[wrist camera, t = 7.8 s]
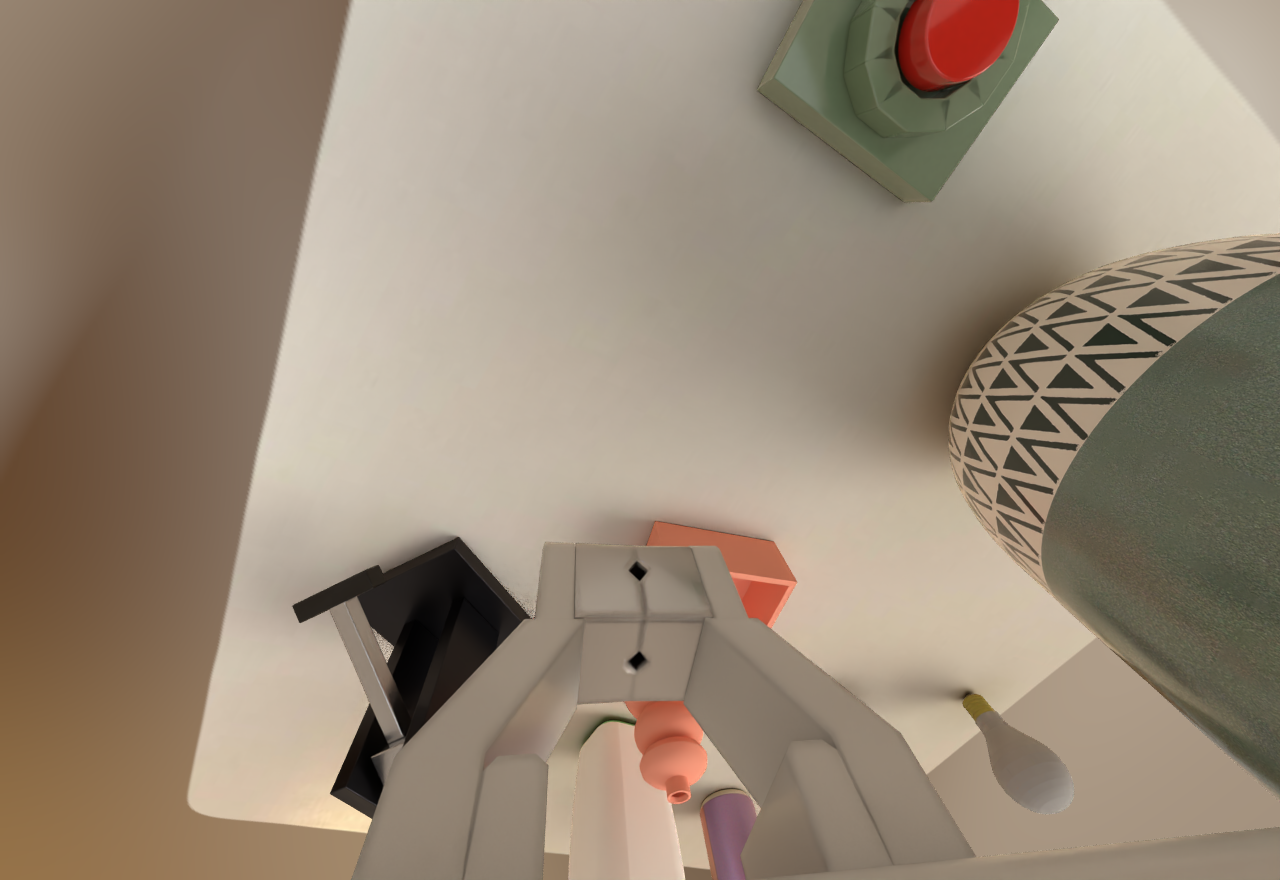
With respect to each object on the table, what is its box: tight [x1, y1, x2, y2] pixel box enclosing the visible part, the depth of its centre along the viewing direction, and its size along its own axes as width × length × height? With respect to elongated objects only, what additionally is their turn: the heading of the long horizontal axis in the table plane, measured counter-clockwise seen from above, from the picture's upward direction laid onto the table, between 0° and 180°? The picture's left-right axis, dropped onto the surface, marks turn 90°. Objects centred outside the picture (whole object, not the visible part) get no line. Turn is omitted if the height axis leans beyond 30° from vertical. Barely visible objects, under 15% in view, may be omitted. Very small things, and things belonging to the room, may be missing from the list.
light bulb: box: [963, 694, 1074, 814], centre depth 42 cm, size 6×5×10 cm
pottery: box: [624, 521, 797, 804], centre depth 32 cm, size 18×10×10 cm, turn 164°
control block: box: [757, 0, 1059, 203], centre depth 20 cm, size 10×8×4 cm
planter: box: [949, 233, 1280, 802], centre depth 21 cm, size 20×20×21 cm
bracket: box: [330, 538, 531, 819], centre depth 29 cm, size 12×9×12 cm
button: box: [898, 0, 1020, 92], centre depth 18 cm, size 4×4×2 cm
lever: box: [292, 565, 412, 787], centre depth 25 cm, size 12×5×2 cm, turn 25°
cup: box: [568, 720, 685, 880], centre depth 36 cm, size 7×7×15 cm
